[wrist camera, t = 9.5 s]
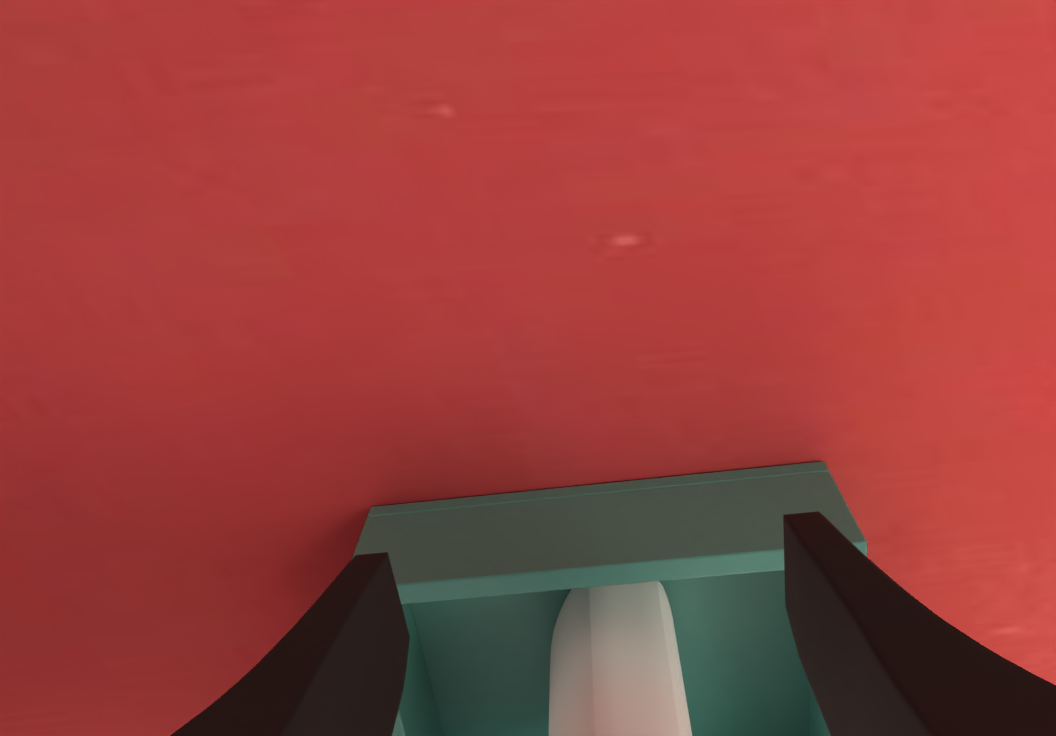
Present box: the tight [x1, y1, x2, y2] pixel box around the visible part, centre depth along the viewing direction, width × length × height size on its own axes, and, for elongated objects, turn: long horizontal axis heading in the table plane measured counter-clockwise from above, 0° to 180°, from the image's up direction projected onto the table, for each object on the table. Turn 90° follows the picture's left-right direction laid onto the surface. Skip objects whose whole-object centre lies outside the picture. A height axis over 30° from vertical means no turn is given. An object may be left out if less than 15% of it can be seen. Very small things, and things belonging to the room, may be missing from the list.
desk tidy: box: [352, 461, 867, 736], centre depth 23 cm, size 10×12×4 cm
